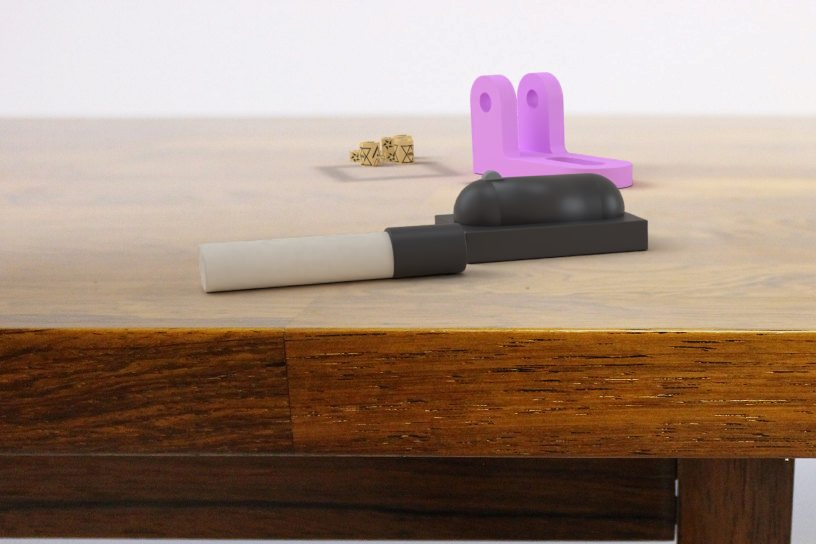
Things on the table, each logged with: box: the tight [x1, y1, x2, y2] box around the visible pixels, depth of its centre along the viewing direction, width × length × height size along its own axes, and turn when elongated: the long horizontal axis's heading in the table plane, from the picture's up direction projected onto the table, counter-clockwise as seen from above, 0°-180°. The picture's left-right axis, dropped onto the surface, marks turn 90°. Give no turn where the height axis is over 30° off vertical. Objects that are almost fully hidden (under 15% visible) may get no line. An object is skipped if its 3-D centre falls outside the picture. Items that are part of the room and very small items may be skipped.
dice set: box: [349, 134, 415, 168], centre depth 114 cm, size 5×5×2 cm
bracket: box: [469, 71, 634, 189], centre depth 105 cm, size 13×6×7 cm, turn 44°
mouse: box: [434, 170, 649, 264], centre depth 79 cm, size 10×6×4 cm, turn 115°
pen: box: [197, 223, 468, 293], centre depth 70 cm, size 12×2×2 cm, turn 115°
